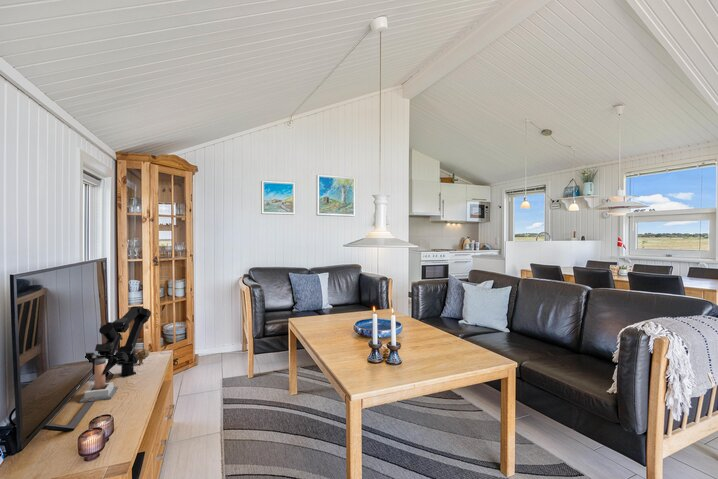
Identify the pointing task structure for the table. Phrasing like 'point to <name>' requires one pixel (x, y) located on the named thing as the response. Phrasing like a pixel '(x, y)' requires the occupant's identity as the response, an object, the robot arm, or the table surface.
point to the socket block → (100, 393)
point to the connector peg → (99, 373)
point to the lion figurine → (142, 355)
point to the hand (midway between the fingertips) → (98, 374)
